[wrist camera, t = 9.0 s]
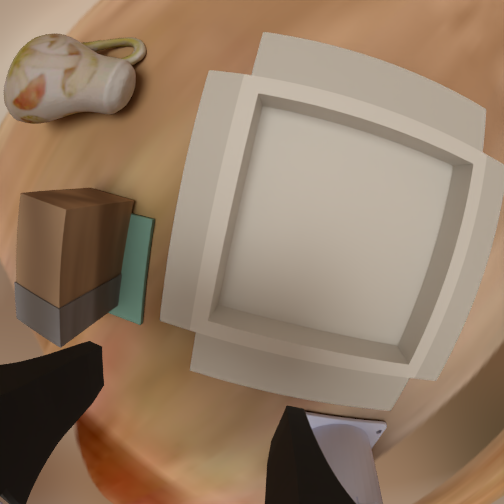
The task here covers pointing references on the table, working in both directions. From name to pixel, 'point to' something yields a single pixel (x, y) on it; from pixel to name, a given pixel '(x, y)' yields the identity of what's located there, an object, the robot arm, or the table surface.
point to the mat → (135, 269)
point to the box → (69, 259)
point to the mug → (69, 78)
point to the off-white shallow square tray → (330, 225)
